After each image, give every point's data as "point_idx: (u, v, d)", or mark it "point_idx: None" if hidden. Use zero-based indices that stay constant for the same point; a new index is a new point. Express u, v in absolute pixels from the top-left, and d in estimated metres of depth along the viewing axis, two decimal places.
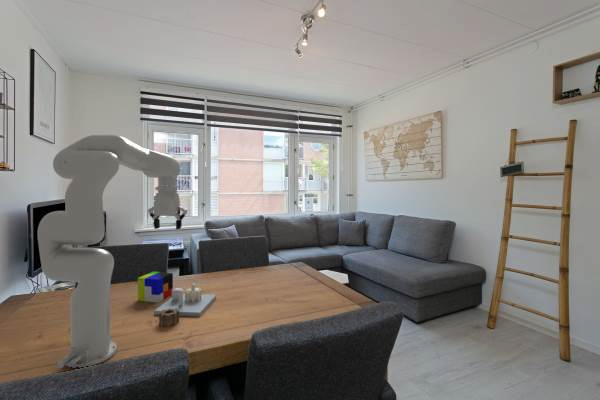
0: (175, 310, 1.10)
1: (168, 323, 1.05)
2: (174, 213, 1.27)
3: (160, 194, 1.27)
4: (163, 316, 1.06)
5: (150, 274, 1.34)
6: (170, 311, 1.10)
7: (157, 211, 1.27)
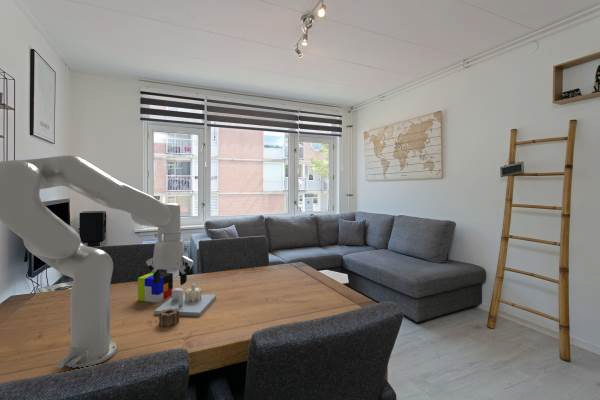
0: (175, 310, 1.10)
1: (168, 323, 1.05)
2: (178, 266, 1.05)
3: (160, 243, 1.05)
4: (163, 316, 1.06)
5: (150, 274, 1.34)
6: (170, 311, 1.10)
7: (157, 264, 1.05)
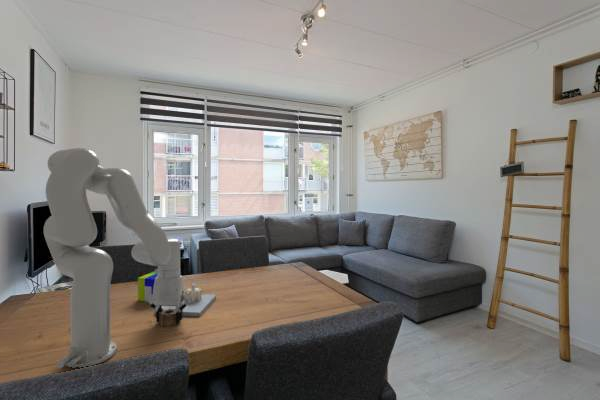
0: (175, 310, 1.10)
1: (168, 323, 1.05)
2: (177, 303, 1.05)
3: (160, 280, 1.05)
4: (163, 316, 1.06)
5: (150, 274, 1.34)
6: (170, 311, 1.10)
7: (156, 300, 1.06)
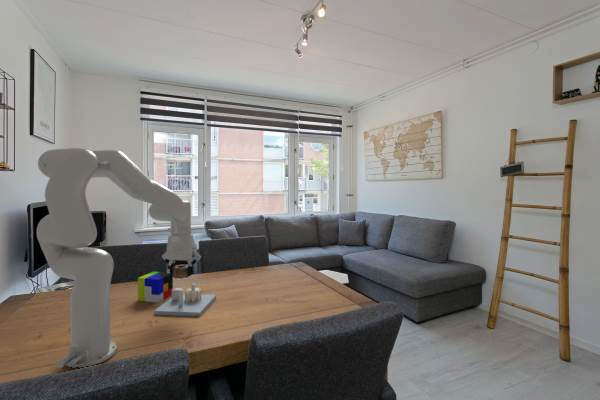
0: (187, 265, 1.21)
1: (181, 275, 1.17)
2: (189, 257, 1.17)
3: (173, 237, 1.16)
4: (176, 269, 1.17)
5: (150, 274, 1.34)
6: (182, 266, 1.21)
7: (170, 255, 1.17)
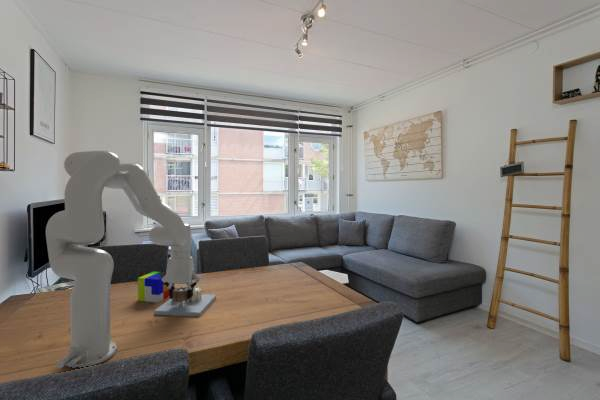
0: (186, 288, 1.21)
1: (180, 299, 1.17)
2: (188, 281, 1.17)
3: (173, 260, 1.17)
4: (176, 293, 1.17)
5: (150, 274, 1.34)
6: (182, 289, 1.21)
7: (170, 279, 1.17)
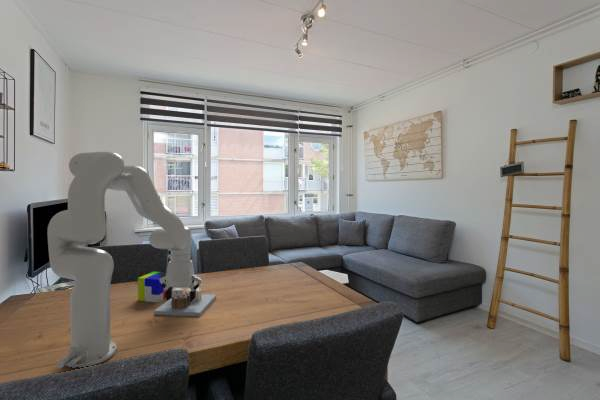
0: (186, 295, 1.21)
1: (180, 306, 1.17)
2: (188, 284, 1.17)
3: (173, 264, 1.17)
4: (175, 300, 1.17)
5: (150, 274, 1.34)
6: None
7: (170, 282, 1.17)
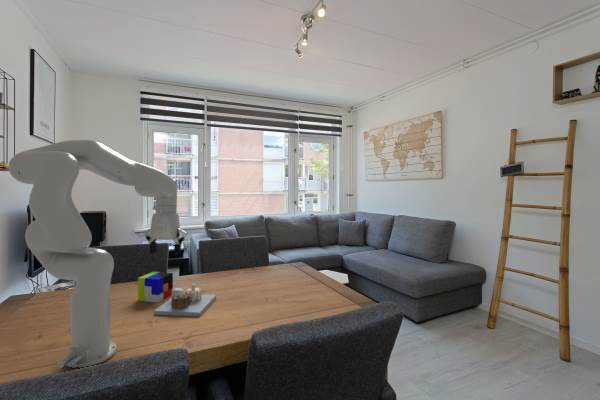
0: (186, 295, 1.21)
1: (180, 306, 1.17)
2: (172, 236, 1.13)
3: (157, 215, 1.14)
4: (175, 300, 1.17)
5: (150, 274, 1.34)
6: None
7: (154, 234, 1.14)
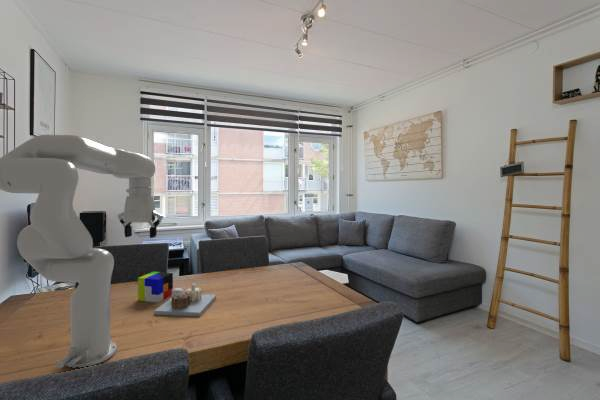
0: (186, 295, 1.21)
1: (180, 306, 1.17)
2: (147, 219, 1.10)
3: (131, 197, 1.10)
4: (175, 300, 1.17)
5: (150, 274, 1.34)
6: None
7: (128, 217, 1.11)
